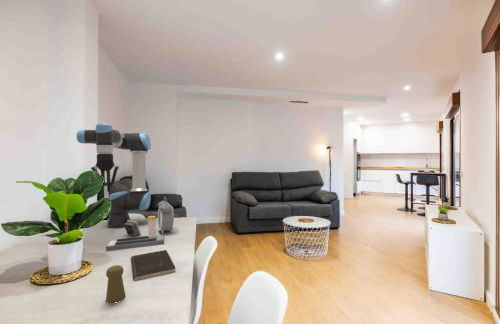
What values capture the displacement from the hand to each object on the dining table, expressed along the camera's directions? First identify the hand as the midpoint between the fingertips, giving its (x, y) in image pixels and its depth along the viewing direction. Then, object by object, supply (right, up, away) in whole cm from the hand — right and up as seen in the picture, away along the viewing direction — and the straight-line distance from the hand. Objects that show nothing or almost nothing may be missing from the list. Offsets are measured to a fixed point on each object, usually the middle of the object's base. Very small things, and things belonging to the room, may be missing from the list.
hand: (106, 198), depth 136 cm
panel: (+14, -26, +5) cm, 30 cm away
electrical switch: (+4, -26, +21) cm, 34 cm away
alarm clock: (+22, -25, +28) cm, 44 cm away
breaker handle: (+21, -24, +8) cm, 33 cm away
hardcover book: (+32, -27, -22) cm, 48 cm away
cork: (+30, -28, -48) cm, 63 cm away
